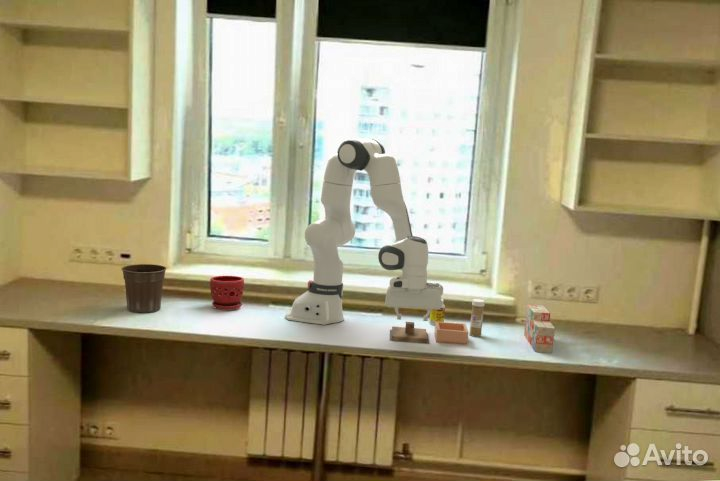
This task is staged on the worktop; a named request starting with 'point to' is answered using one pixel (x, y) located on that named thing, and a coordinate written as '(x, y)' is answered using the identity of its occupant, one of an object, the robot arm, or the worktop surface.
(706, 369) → the worktop surface
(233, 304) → the plant pot
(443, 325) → the orange open box
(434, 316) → the supplement bottle
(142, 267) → the plant pot
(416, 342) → the mat
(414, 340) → the lid
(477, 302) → the sprinkles bottle
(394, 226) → the robot arm
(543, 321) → the red and white cartons
